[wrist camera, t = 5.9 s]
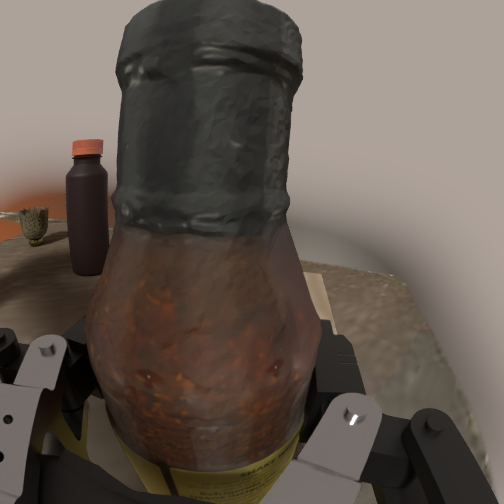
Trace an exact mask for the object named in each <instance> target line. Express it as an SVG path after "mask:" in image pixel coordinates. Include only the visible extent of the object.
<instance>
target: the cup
mask: <svg viewBox="0 0 504 504" xmlns="http://www.w3.org/2000/svg"><path fill="white" fill-rule="evenodd" d="M48 208H49V207H47V206H45V208H44V207H43V206H42V207H41V209H40V207H37V208H36V207H34V208H33V209H32V210H31V209H30V208H29V210H26V209H23V210H20V212H18V213H19V218H20V223H21V228H22V232H23V234H24V236H25V237H26V238H27V239H30V240H29V244H30V245H31V246H39V245H41V244H42V243H43V241H44V239H43V236H44V235H45V234H46V232H47V228H48Z"/></svg>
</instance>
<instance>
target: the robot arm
mask: <svg viewBox="0 0 504 504" xmlns="http://www.w3.org/2000/svg"><path fill="white" fill-rule="evenodd" d="M85 317H86V315H85V316H84V317H83V319H81V320H79V321H78V322H77V323H76V324H75V325H74V326H73V327H71V328H70V329H69V330H68V331H67V332H66V333H65V334H63V335H62V336H59V335H53V334H52V335H44V336H41V337H39V338H37V339H35V340H34V341H33V342H32V343H31V344H30V345H27V344H21V343H18V341H17V338H16V335H15V333H14V331H13V330H12V329H9V328H0V380H1V382H2V383H0V504H216V503H211V502H206V501H201V500H197V499H193V498H189V497H185V496H173V495H161V494H152V493H144V492H137V491H134V490H132V489H130V488H128V487H127V486H125V485H124V484H123V483H121V482H120V481H118V480H117V479H115V478H114V477H113V476H111V475H110V474H109V473H107V472H106V471H105V470H103V469H102V468H101V467H99V466H98V465H96V464H94V463H92V462H90V459H89V457H88V454H87V448H86V443H87V427H88V414H89V403H88V400H87V398H88V397H89V396H90V394H91V395H93V396H96V397H98V398H101V399H103V396H102V391H101V388H100V385H99V383H98V382H97V379H96V376H95V373H94V371H93V369H92V367H91V363H90V359H89V353H88V349H87V343H86V337H85V335H84V332H83V329H84V322H85ZM320 321H321V327H322V339H321V341H320V344H319V347H318V353H317V357H316V363H315V366H314V369H313V372H312V378H311V380H310V386H309V390H308V394H307V398H306V404H305V407H304V420H303V424H302V427H301V430H300V433H299V443H306V445H305V446H304V448H303V449H302V451H301V452H300V454H299V455H298V457H297V458H294V459H293V460H292V461H291V462H290V464H289V465H288V466H287V468H286V469H285V470H284V472H283V473H282V474H281V476H280V477H279V478H278V480H277V481H276V482H275V484H274V485H273V486H272V488H271V489H270V490H269V491H268V493H267V494H266V495H265V496H264V498H263V499H262V500H261V501H260V502H259V504H353V503H354V501H355V499H356V497H357V495H358V492H359V490H360V487H361V482H366V483H371V484H372V487H373V490H374V494H375V497H376V500H377V503H378V504H499V503H498V501H497V499H496V497H495V495H494V493H493V491H492V489H491V487H490V485H489V483H488V482H487V480H486V478H485V476H484V474H483V472H482V470H481V468H480V467H479V465H478V463H477V461H476V459H475V458H474V456H473V454H472V452H471V451H470V449H469V447H468V446H467V444H466V442H465V441H464V439H463V437H462V436H461V434H460V432H459V431H458V429H457V427H456V426H455V424H454V423H453V421H452V420H451V418H450V417H449V416H448V415H447V414H445V413H444V412H442V411H440V410H437V409H432V408H426V409H422V410H419V411H418V412H416V413H415V414H414V416H413V417H412V418H411V420H408V419H403V418H398V417H392V416H388V415H385V414H383V413H382V411H381V408H380V406H379V405H378V404H377V403H376V402H375V401H374V400H373V399H372V398H370V397H368V396H366V393H365V389H364V385H363V382H362V378H361V374H360V371H359V367H358V365H357V360H356V357H355V356H354V355H355V354H354V350H353V347H352V344H351V343H350V342H349V341H348V340H347V339H346V337H345V336H344V335H336V334H334V333H333V329H332V325H331V321H330V320H326V319H320Z"/></svg>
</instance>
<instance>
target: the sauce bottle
mask: <svg viewBox="0 0 504 504" xmlns="http://www.w3.org/2000/svg"><path fill="white" fill-rule="evenodd" d="M301 44H302V37H301V34H300V33H299V28H298V26H297V25H296V24H295V23H294V21H293V20H292V19H291V18H290V17H289V16H288V15H287V14H286V13H285V12H283V11H281V10H280V9H278V8H276V7H274V6H271V5H268V4H265V3H262V2H260V1H258V0H159V1H157V2H155V3H153V4H151V5H149V6H147V7H146V8H144V9H143V10H141V11H140V12H139V13H137V14H136V15H135V16H133V18H132V19H131V21H130V22H129V23H128V24H127V25H126V26H125V31H124V34H123V39H122V42H121V46H120V50H119V54H118V59H117V64H116V71H115V73H116V76H117V79H118V83H119V86H120V88H121V91H122V101H121V110H120V118H119V119H120V120H119V130H118V151H117V152H118V153H117V187H116V190H115V191H114V193H113V194H112V196H111V200H112V204H113V206H114V209H115V219H116V223H115V226H114V229H113V236H112V239H111V243H110V246H109V249H108V253H107V256H106V260H105V264H104V267H103V271H102V274H101V278H100V280H99V282H98V284H97V285H96V287H95V288H94V291H93V294H92V297H91V301H90V304H89V307H88V310H87V314H86V317H85V322H84V329H83V332H84V335H85V337H86V343H87V349H88V353H89V359H90V363H91V367H92V369H93V371H94V373H95V376H96V379H97V382H98V383H99V385H100V388H101V391H102V396H103V398H104V399H105V403H106V410H107V415H108V418H109V421H110V423H111V426H112V428H113V430H114V432H115V434H116V436H117V438H118V440H119V442H120V444H121V446H122V448H123V450H124V452H125V453H126V455H127V457H128V459H129V461H130V462H131V464H132V466H133V468H134V469H135V471H136V473H137V474H138V476H139V478H140V479H141V481H142V483H143V484H144V486H145V487H146V489H147V490H148V492H149V493H152V494H161V495H173V496H185V497H189V498H193V499H197V500H201V501H206V502H211V503H216V504H259V502H260V501H261V500H262V499H263V498H264V496H265V495H266V494H267V493H268V491H269V490H270V489H271V488H272V486H273V485H274V484H275V482H276V481H277V480H278V478H279V477H280V476H281V474H282V473H283V472H284V470H285V469H286V468H287V466H288V465H289V464H290V462H291V461H292V458H293V455H294V452H295V449H296V446H297V442H298V439H299V433H300V430H301V427H302V424H303V420H304V407H305V404H306V398H307V394H308V390H309V386H310V380H311V378H312V372H313V369H314V366H315V363H316V357H317V353H318V347H319V344H320V341H321V339H322V327H321V321H320V317H319V316H318V314H317V312H316V309H315V307H314V304H313V302H312V299H311V296H310V292H309V289H308V286H307V283H306V279H305V276H304V273H303V270H302V267H301V264H300V261H299V257H298V254H297V252H296V248H295V245H294V242H293V239H292V236H291V233H290V230H289V227H288V224H287V220H286V212H287V210H288V208H289V205H290V197H289V195H288V193H287V190H286V182H287V170H288V163H289V155H288V148H289V137H290V128H291V112H292V102H293V97H294V95H295V93H296V92H297V90H298V88H299V86H300V84H301V82H302V80H303V75H302V72H303V68H302V62H303V59H302V50H301Z"/></svg>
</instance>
